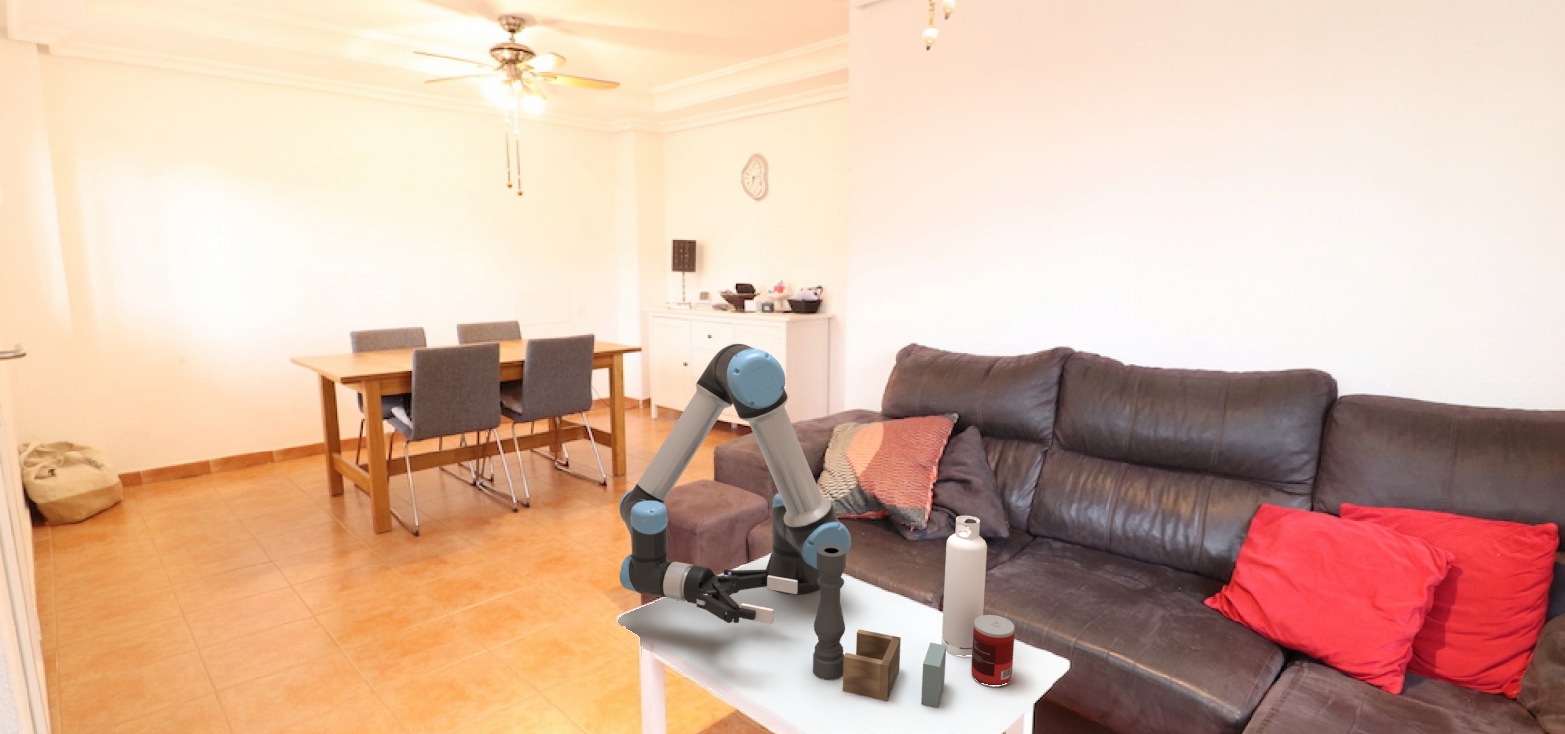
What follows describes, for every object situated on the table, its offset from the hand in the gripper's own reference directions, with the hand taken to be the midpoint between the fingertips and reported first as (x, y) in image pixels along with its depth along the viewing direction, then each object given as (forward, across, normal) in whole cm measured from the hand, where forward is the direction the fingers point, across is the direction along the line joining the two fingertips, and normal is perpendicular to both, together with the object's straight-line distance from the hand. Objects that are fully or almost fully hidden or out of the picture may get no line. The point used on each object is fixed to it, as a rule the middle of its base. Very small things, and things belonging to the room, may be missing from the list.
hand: (785, 601), depth 146 cm
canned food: (+39, -10, -13) cm, 43 cm away
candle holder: (+9, 0, -13) cm, 16 cm away
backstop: (+30, 0, -13) cm, 32 cm away
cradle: (+17, 0, -13) cm, 21 cm away
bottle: (+32, -20, -13) cm, 40 cm away
